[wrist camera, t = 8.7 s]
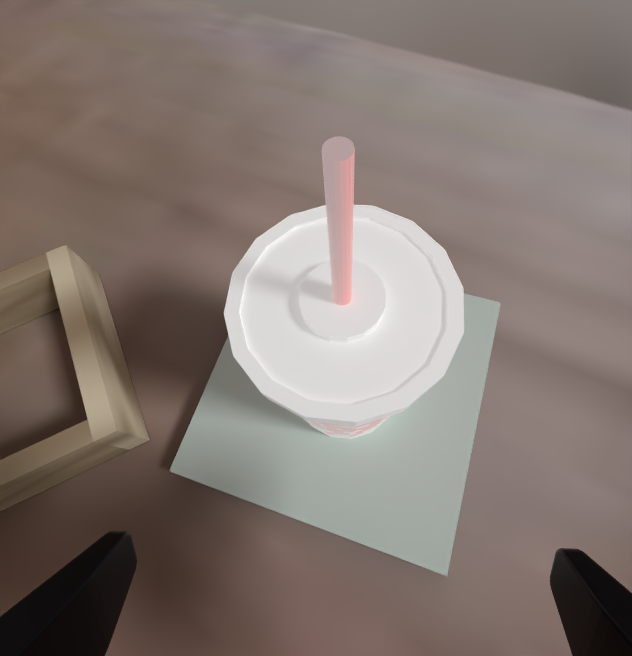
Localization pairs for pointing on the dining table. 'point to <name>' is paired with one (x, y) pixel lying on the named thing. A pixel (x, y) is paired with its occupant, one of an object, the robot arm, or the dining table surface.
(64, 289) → the maple collar
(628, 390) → the dining table surface
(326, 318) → the beverage cup
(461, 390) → the ceramic coaster
